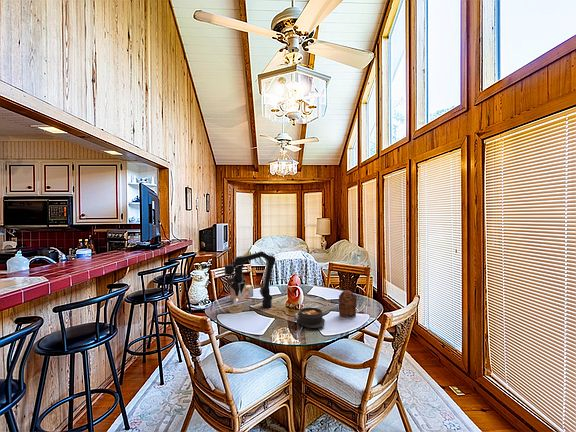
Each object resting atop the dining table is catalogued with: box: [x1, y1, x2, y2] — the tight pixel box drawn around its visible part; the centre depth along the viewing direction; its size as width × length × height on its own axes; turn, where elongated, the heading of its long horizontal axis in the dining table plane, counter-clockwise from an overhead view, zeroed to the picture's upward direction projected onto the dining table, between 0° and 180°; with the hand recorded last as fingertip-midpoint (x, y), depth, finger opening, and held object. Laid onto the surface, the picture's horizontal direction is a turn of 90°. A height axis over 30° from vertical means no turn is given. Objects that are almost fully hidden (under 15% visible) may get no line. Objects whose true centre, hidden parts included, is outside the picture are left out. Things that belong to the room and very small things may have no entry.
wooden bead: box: [228, 303, 244, 314], centre depth 230 cm, size 10×10×4 cm
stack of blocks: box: [229, 284, 254, 303], centre depth 262 cm, size 21×6×12 cm, turn 144°
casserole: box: [296, 307, 326, 329], centre depth 202 cm, size 25×19×8 cm
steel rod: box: [233, 298, 239, 307], centre depth 230 cm, size 3×3×9 cm
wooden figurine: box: [338, 289, 357, 319], centre depth 216 cm, size 12×6×18 cm, turn 95°
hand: (239, 294), depth 232 cm, fingers open, 9 cm apart
